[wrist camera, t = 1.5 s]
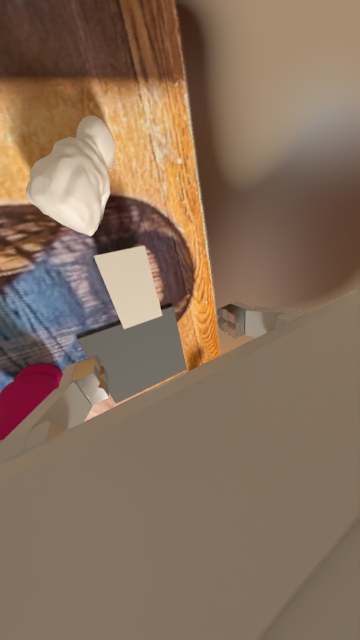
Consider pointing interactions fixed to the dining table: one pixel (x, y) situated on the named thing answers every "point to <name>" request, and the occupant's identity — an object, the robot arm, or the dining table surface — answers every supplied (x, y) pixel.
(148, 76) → the dining table surface
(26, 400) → the pepper mill
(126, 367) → the mat
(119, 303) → the stool
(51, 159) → the white lumpy piece
